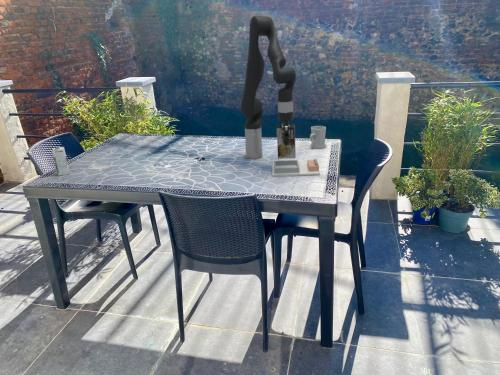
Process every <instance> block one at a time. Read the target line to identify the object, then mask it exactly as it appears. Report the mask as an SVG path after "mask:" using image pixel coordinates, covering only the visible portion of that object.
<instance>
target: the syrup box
mask: <svg viewBox="0 0 500 375" xmlns="http://www.w3.org/2000/svg"><path fill="white" fill-rule="evenodd" d="M51 152H52V157H53V162H54V165H55V170H56V173H57V176H58V177H59V176H65V175H70V168H69V164H68V159H67V155H66V150H65V146H59V147H53V148H52V150H51Z"/></svg>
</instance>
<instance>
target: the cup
mask: <svg viewBox="0 0 500 375" xmlns="http://www.w3.org/2000/svg"><path fill="white" fill-rule="evenodd" d="M310 132H311V133H310V134H309V140H310V142H311V144H310V147H311V148H312V149H314V150H322V149H326V132H327V127H326V126H323V125H314V126H310Z"/></svg>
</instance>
